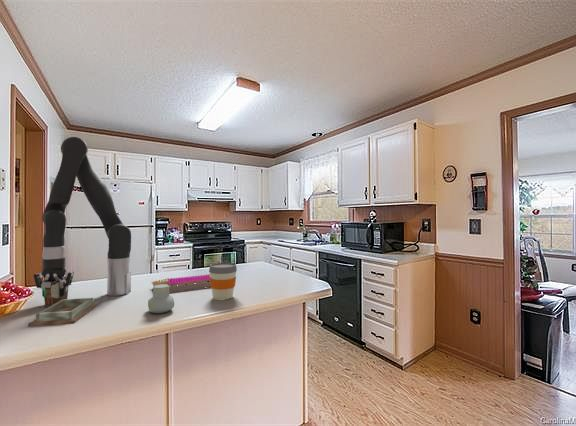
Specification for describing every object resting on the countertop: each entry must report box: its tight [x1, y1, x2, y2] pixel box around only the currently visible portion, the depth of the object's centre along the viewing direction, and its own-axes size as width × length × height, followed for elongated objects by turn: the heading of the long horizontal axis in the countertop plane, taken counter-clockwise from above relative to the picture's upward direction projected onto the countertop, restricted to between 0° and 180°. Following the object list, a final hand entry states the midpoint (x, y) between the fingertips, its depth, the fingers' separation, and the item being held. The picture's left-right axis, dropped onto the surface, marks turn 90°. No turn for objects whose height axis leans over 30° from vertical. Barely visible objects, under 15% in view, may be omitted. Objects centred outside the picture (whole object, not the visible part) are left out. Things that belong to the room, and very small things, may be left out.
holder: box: [27, 297, 100, 327], centre depth 109 cm, size 14×20×4 cm
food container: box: [41, 275, 69, 307], centre depth 120 cm, size 12×6×10 cm, turn 6°
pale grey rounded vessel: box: [147, 284, 175, 314], centre depth 113 cm, size 11×8×10 cm
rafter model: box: [151, 273, 211, 294], centre depth 150 cm, size 35×14×6 cm, turn 121°
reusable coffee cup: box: [208, 262, 237, 301], centre depth 132 cm, size 13×13×15 cm
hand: (54, 296), depth 121 cm, fingers closed on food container, 5 cm apart
